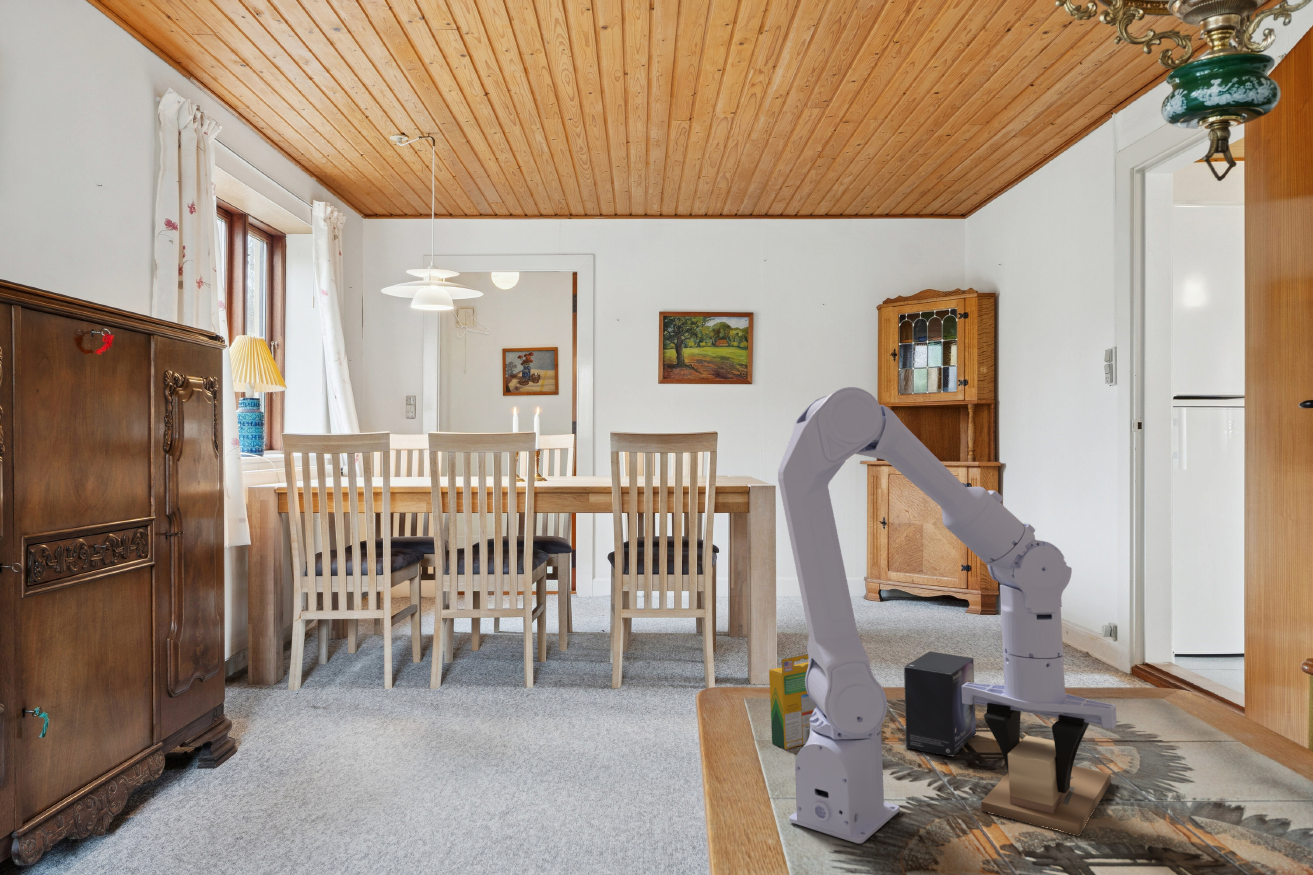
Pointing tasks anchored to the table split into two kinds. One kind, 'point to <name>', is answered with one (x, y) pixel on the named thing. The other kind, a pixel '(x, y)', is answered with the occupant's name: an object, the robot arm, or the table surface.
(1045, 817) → the board
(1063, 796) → the block
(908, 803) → the table surface
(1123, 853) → the table surface
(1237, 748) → the table surface
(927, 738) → the small box
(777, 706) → the crayon box
